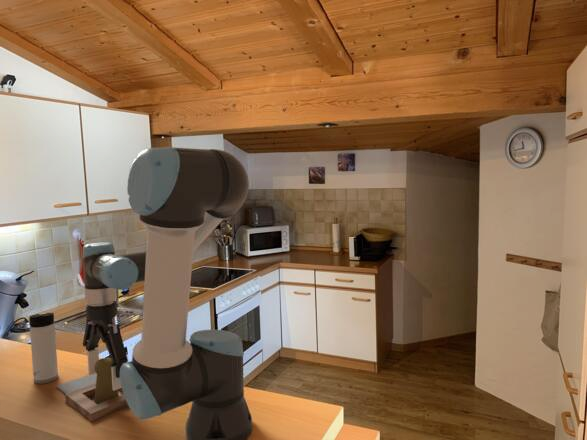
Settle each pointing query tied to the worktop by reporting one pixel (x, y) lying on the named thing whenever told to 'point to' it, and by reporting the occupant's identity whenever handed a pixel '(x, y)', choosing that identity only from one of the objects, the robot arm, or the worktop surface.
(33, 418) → the worktop surface
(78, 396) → the walnut holder
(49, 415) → the worktop surface
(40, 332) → the travel mug
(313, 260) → the worktop surface
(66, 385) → the grey mat
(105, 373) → the cork
